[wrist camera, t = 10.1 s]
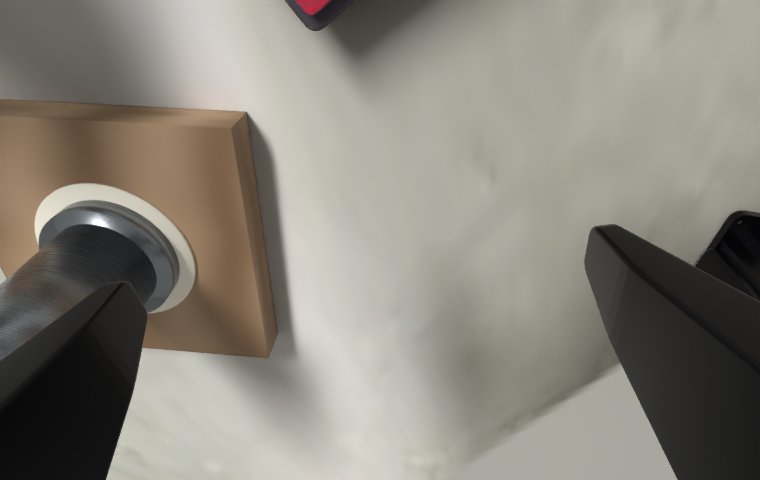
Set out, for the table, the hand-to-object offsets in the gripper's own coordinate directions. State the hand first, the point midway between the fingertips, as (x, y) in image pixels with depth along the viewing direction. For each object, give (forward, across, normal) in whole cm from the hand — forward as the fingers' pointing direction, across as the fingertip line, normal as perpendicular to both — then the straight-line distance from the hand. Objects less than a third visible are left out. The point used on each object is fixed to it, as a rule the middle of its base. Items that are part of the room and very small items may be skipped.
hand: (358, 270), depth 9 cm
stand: (+14, +13, +8) cm, 21 cm away
